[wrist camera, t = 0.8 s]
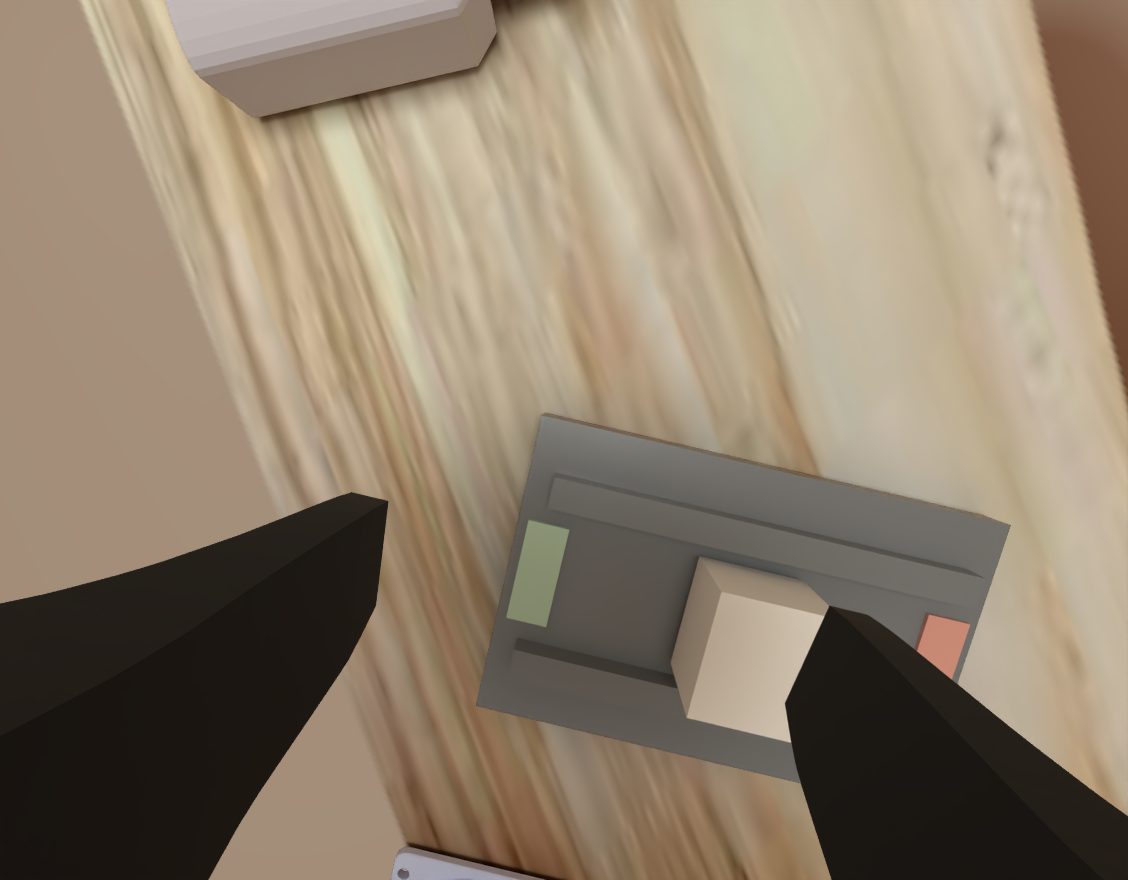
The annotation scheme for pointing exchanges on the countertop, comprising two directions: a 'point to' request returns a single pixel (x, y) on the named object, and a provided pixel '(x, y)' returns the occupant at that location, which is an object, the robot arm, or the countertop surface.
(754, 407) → the countertop surface
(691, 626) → the slider knob
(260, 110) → the charger
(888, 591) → the switch track
